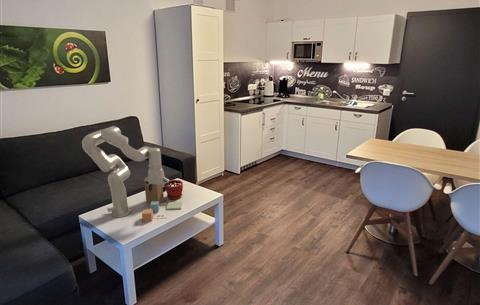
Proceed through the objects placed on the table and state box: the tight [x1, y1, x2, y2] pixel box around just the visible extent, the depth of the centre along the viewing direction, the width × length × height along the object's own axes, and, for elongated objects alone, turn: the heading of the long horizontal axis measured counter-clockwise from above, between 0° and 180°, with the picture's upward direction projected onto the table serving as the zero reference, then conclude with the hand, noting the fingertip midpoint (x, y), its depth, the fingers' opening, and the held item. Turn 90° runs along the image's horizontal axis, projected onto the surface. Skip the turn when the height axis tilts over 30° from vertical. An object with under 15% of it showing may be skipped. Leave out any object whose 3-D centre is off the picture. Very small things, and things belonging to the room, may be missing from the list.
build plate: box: [166, 201, 183, 211], centre depth 229 cm, size 10×10×1 cm
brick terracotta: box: [141, 208, 154, 223], centre depth 211 cm, size 6×6×6 cm
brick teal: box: [149, 201, 160, 213], centre depth 222 cm, size 5×5×6 cm
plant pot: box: [165, 179, 184, 200], centre depth 242 cm, size 13×13×12 cm
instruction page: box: [153, 213, 168, 220], centre depth 215 cm, size 8×6×1 cm
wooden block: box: [143, 179, 165, 205], centre depth 233 cm, size 10×10×20 cm
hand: (157, 190), depth 210 cm, fingers open, 9 cm apart
